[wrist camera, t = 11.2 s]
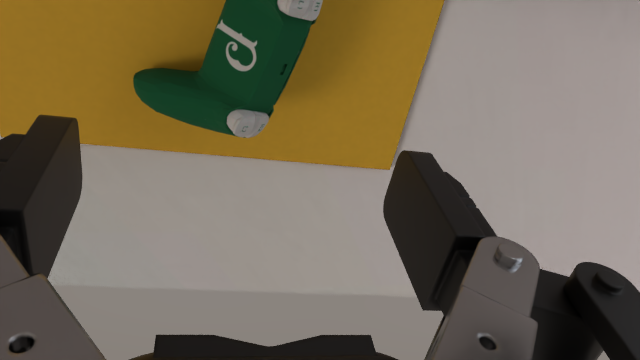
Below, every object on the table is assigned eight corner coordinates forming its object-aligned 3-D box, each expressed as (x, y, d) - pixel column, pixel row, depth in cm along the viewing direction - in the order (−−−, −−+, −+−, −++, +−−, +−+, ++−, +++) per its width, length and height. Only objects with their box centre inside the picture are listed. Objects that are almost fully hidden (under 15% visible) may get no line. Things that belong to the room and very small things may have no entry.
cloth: (475, -104, 22) (478, -103, 21) (388, 167, 29) (389, 170, 29) (-54, -233, 17) (-58, -234, 16) (2, 134, 24) (0, 137, 24)
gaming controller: (181, 89, 26) (264, 155, 24) (120, 92, 23) (210, 169, 21) (247, -93, 22) (353, -31, 20) (184, -121, 18) (303, -49, 17)
